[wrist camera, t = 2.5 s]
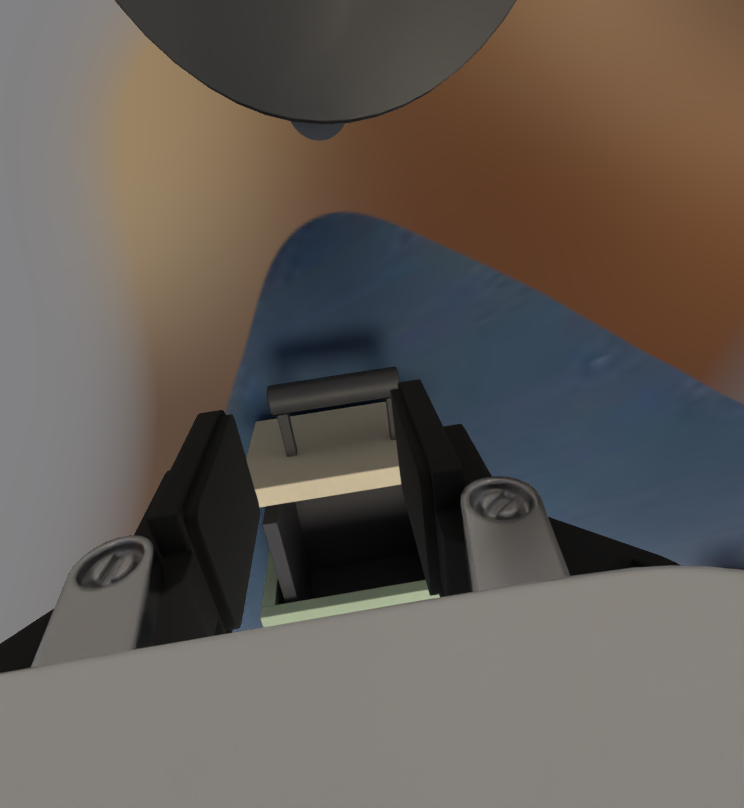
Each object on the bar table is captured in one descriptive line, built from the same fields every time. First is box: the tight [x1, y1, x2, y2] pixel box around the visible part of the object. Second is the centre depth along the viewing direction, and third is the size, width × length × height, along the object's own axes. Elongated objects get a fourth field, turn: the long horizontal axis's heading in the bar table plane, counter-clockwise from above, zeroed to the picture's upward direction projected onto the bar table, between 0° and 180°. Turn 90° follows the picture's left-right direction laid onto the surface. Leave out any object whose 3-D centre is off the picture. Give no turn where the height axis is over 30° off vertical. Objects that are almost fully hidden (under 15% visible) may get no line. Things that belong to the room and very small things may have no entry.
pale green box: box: [260, 549, 440, 627], centre depth 35 cm, size 15×13×10 cm
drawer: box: [246, 367, 426, 604], centre depth 30 cm, size 18×11×8 cm, turn 7°
